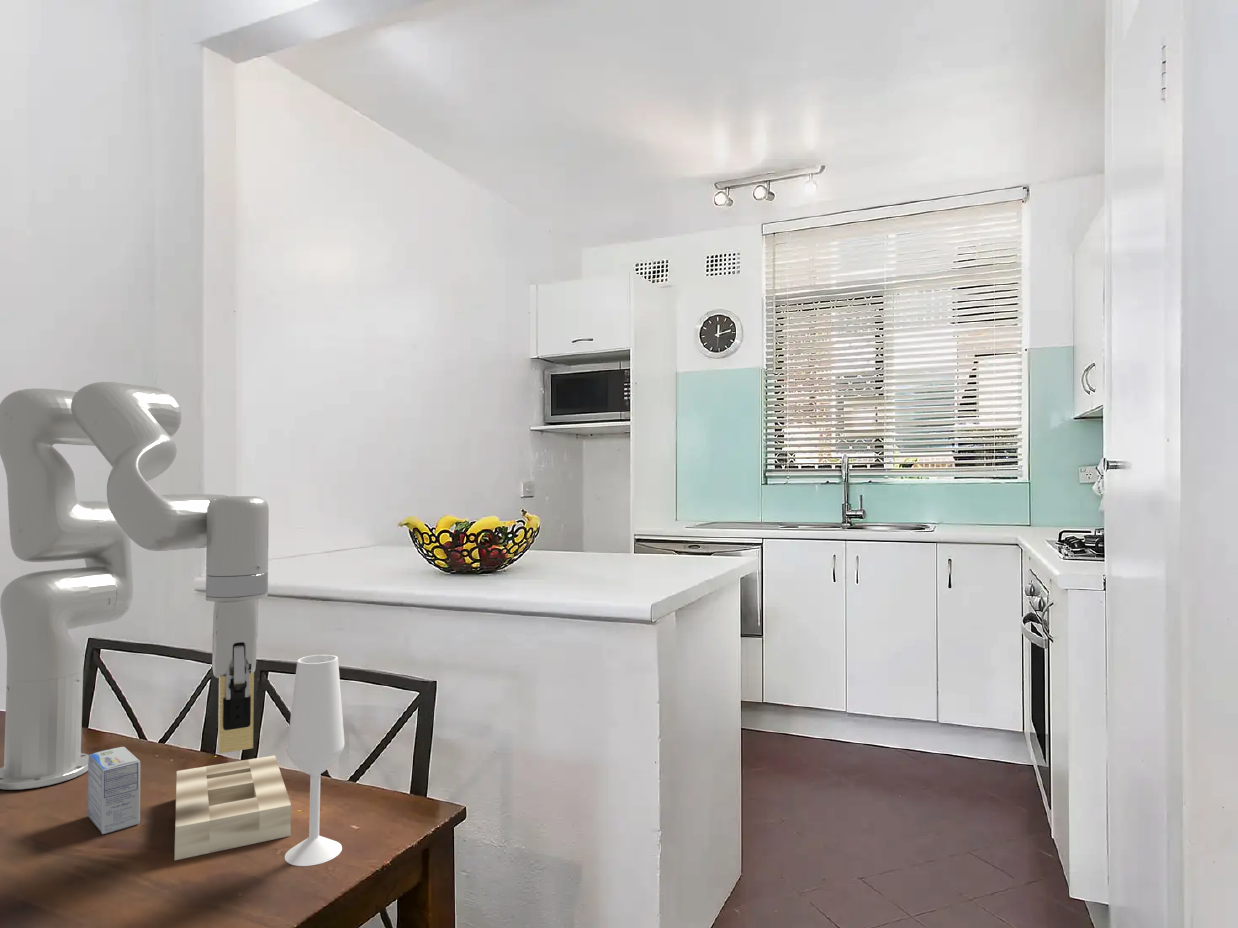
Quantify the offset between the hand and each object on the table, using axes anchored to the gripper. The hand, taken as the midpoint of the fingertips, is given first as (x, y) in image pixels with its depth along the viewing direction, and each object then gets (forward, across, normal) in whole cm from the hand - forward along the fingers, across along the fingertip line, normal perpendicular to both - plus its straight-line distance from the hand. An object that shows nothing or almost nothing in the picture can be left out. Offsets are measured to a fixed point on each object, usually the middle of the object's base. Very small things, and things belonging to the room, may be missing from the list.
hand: (235, 721), depth 100 cm
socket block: (+14, -3, 0) cm, 14 cm away
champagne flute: (+14, +13, +8) cm, 21 cm away
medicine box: (+14, -9, -14) cm, 22 cm away
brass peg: (+3, 0, 0) cm, 3 cm away
